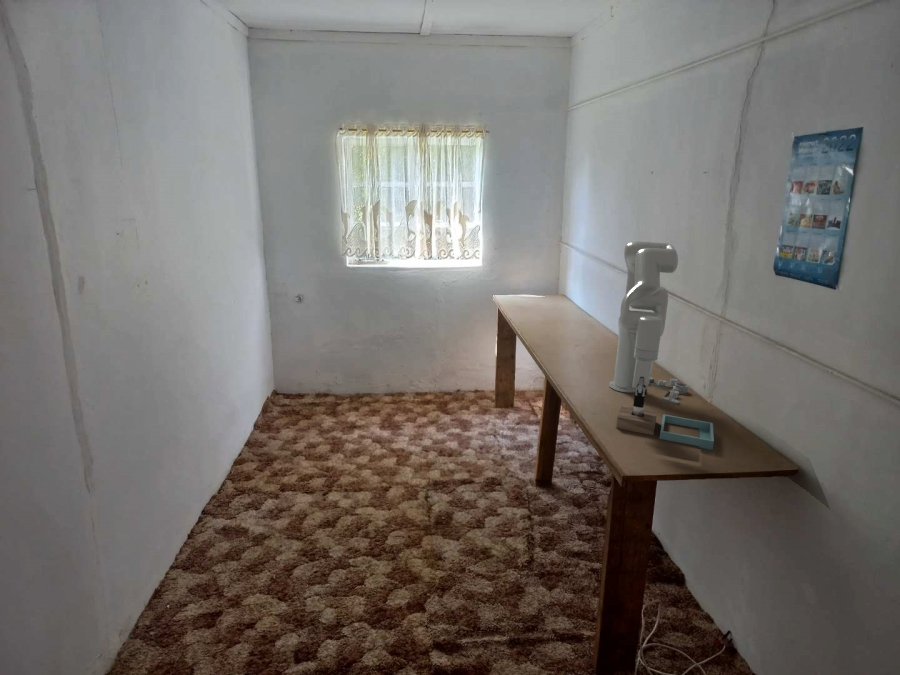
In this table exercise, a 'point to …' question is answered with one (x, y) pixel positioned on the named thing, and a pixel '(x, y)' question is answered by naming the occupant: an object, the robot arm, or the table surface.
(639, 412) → the pin
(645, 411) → the block
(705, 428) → the tray
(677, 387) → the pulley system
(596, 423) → the table surface
